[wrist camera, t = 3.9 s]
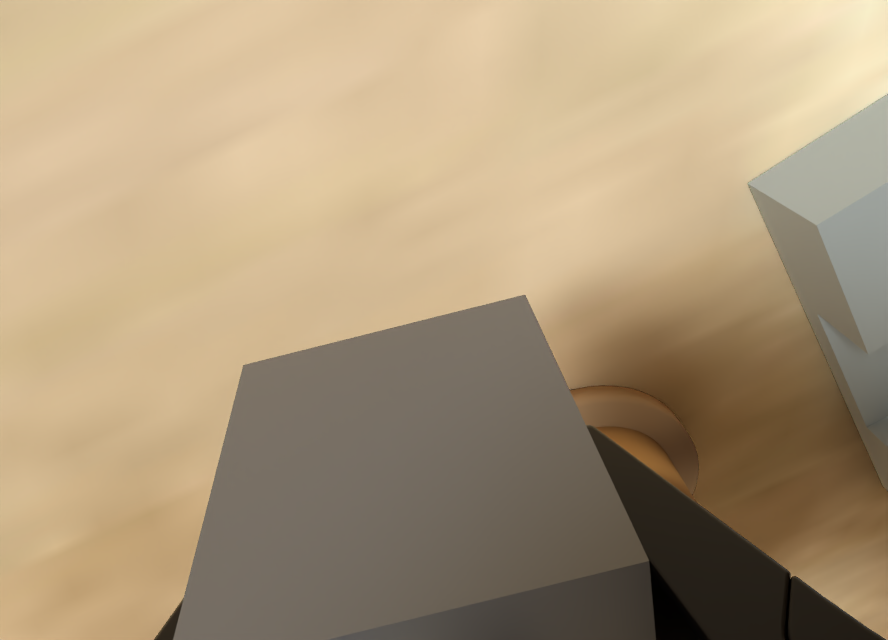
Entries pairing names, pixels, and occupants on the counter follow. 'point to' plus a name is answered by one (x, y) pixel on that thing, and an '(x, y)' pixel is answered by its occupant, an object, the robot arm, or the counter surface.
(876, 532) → the counter surface
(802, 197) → the notch board
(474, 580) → the block
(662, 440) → the bobbin
